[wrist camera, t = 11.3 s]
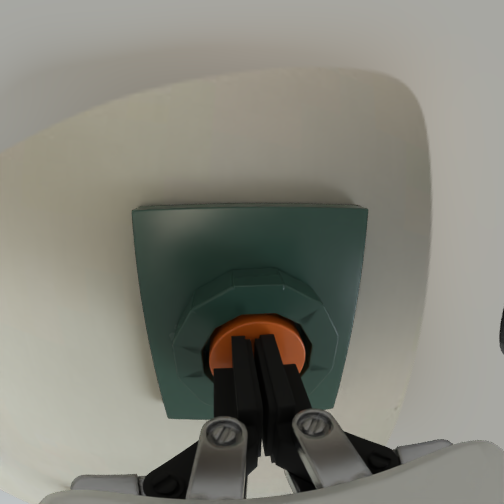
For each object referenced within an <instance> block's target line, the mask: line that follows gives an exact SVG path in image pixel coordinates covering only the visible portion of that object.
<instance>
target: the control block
mask: <svg viewBox="0 0 504 504" xmlns="http://www.w3.org/2000/svg"><path fill="white" fill-rule="evenodd" d="M367 218H368V209H367V208H364V207H361V206H358V205H343V204H307V203H219V204H182V205H157V206H140V207H138V208H136V209H134V210H132V223H133V235H134V245H135V255H136V264H137V272H138V279H139V286H140V293H141V300H142V306H143V312H144V318H145V323H146V329H147V334H148V339H149V344H150V349H151V354H152V358H153V363H154V367H155V371H156V376H157V380H158V384H159V388H160V392H161V395H162V399H163V403H164V406H165V410H166V413H167V417H168V418H169V419H197V420H211V419H212V418H214V376H213V374H212V372H211V370H210V366H209V351H210V336H211V335H212V333H213V332H214V330H215V328H217V327H219V326H221V325H223V324H225V323H227V322H229V321H230V320H232V319H234V318H236V317H238V316H240V315H245V314H268V313H277V314H279V315H281V316H283V317H285V318H287V319H289V320H292V321H293V322H294V324H295V326H296V328H297V330H298V333H299V335H300V337H301V339H302V342H303V344H304V347H305V353H306V354H305V362H304V365H303V368H302V370H301V372H300V373H299V374H300V376H301V379H302V382H303V384H304V387H305V390H306V393H307V395H308V398H309V401H310V403H311V406H312V408H315V409H322V410H326V409H332V408H333V407H334V404H335V400H336V396H337V393H338V389H339V385H340V381H341V377H342V373H343V369H344V364H345V360H346V356H347V351H348V347H349V342H350V337H351V332H352V327H353V322H354V316H355V311H356V305H357V299H358V293H359V286H360V279H361V272H362V265H363V257H364V248H365V239H366V229H367Z"/></svg>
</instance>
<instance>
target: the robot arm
mask: <svg viewBox="0 0 504 504" xmlns="http://www.w3.org/2000/svg"><path fill="white" fill-rule="evenodd" d="M231 343H232V368H214V418H212V419H211V420H209V421H207V422H206V423H205V424H204V425H203V427H202V429H201V433H200V437H199V440H198V441H197V442H196V443H194V444H193V445H191V446H190V447H188V448H187V449H185V450H184V451H183V452H181V453H180V454H178V455H177V456H175V457H174V458H172V459H171V460H169V461H167V462H166V463H164V464H163V465H161V466H160V467H158V468H156V469H155V470H153V471H152V472H150V473H149V474H148V475H147V476H137V474H128V475H80V476H78V477H77V478H75V479H74V480H73V482H72V484H71V490H67V491H60V492H55V493H52V494H49V495H48V496H46V497H45V498H43V499H42V500H41V502H40V503H39V504H504V451H503V450H502V449H501V448H500V447H498V446H497V445H496V444H494V443H492V442H489V441H482V440H477V441H476V440H475V441H468V442H462V443H458V444H454V445H453V444H452V443H451V442H449V441H448V440H444V439H440V440H439V439H438V440H433V441H428V442H423V443H418V444H412V445H405V446H399V447H397V448H396V449H394V450H392V449H390V448H388V447H385V446H382V445H380V444H377V443H374V442H371V441H368V440H365V439H363V438H360V437H357V436H355V435H352V434H350V433H347V432H344V431H343V430H342V429H341V427H340V426H339V424H338V423H337V421H336V420H335V418H334V417H333V416H332V415H331V414H330V413H328V412H327V411H325V410H322V409H315V408H312V406H311V403H310V401H309V398H308V395H307V393H306V390H305V387H304V384H303V382H302V379H301V376H300V374H299V371H298V368H297V366H296V364H284V365H283V362H282V359H281V356H280V352H279V349H278V346H277V343H276V340H275V337H274V334H267V335H260V337H259V338H258V339H255V342H254V355H253V350H252V344H251V339H245V336H231ZM261 442H263V447H264V453H265V456H270V457H271V462H272V463H276V465H278V466H279V467H281V468H283V469H284V473H285V476H286V478H287V480H288V483H289V485H290V487H291V489H292V492H293V494H288V495H281V496H273V497H264V498H252V499H246V497H247V483H248V475H249V474H250V473H251V472H252V471H253V470H254V469H255V468H256V467H257V462H258V457H261Z"/></svg>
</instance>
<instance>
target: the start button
mask: <svg viewBox="0 0 504 504" xmlns="http://www.w3.org/2000/svg"><path fill="white" fill-rule="evenodd" d="M267 334H274V337H275V340H276V343H277V346H278V349H279V352H280V356H281V359H282V362H283V365H284V364H296V366H297V368H298V371H299V373H300V372H301V370H302V368H303V365H304V362H305V354H306V353H305V347H304V344H303V342H302V339H301V337H300V335H299V333H298V330H297V328H296V326H295V324H294V322H293V321H292V320H289V319H287V318H285V317H283V316H281V315H279V314H277V313H268V314H245V315H240V316H238V317H236V318H234V319H232V320H230V321H229V322H227V323H225V324H223V325H221V326H219V327H217V328H215V330H214V332H213V333H212V335H211V336H210V351H209V366H210V370H211V372H212V374H213V376H214V368H232V343H231V336H245V339H251V344H252V350H253V355H254V342H255V339H258V338H259V337H260V335H267Z"/></svg>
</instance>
